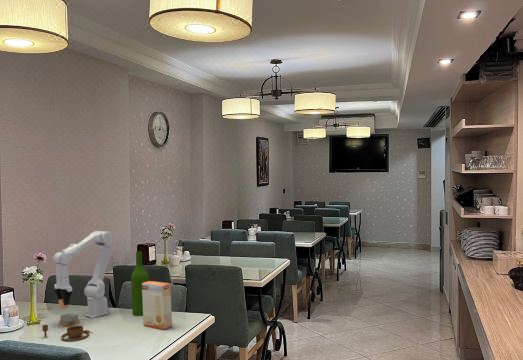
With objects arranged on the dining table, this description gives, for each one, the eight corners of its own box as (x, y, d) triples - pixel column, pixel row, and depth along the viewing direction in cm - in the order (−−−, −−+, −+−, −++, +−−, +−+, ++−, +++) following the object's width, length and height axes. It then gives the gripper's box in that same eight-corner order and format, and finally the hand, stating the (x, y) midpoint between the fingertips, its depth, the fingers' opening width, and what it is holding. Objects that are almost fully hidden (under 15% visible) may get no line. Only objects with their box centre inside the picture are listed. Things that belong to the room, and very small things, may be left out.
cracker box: (172, 326, 235) (171, 282, 234) (163, 330, 230) (161, 285, 229) (152, 322, 243) (150, 280, 242) (143, 325, 238) (141, 282, 237)
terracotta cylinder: (66, 305, 247) (65, 297, 247) (70, 306, 244) (69, 298, 244) (57, 307, 244) (57, 299, 244) (61, 309, 241) (61, 300, 241)
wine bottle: (144, 310, 265) (141, 249, 265) (153, 313, 259) (150, 251, 258) (129, 314, 259) (126, 252, 258) (138, 317, 253) (135, 253, 252)
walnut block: (72, 322, 250) (72, 317, 250) (79, 324, 245) (79, 319, 245) (59, 325, 245) (59, 320, 245) (66, 328, 240) (66, 323, 240)
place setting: (64, 347, 214) (64, 333, 214) (39, 339, 226) (39, 326, 226) (99, 335, 228) (98, 322, 228) (74, 328, 240) (73, 316, 240)
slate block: (71, 317, 249) (71, 312, 249) (78, 319, 246) (78, 314, 246) (60, 320, 245) (60, 315, 245) (66, 322, 241) (66, 317, 241)
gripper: (47, 276, 246) (49, 303, 246) (61, 280, 236) (63, 308, 236) (61, 273, 251) (63, 300, 251) (75, 277, 241) (77, 304, 241)
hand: (64, 304), depth 244 cm, fingers closed on terracotta cylinder, 4 cm apart
